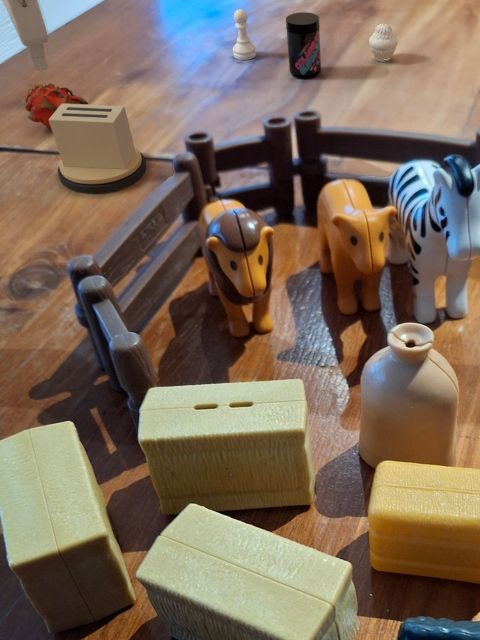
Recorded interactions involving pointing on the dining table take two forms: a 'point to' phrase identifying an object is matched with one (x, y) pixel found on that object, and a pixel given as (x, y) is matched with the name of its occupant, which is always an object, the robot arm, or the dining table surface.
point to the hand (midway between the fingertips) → (36, 56)
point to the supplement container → (303, 44)
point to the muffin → (383, 42)
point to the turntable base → (105, 186)
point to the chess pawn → (242, 38)
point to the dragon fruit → (48, 102)
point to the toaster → (94, 143)
